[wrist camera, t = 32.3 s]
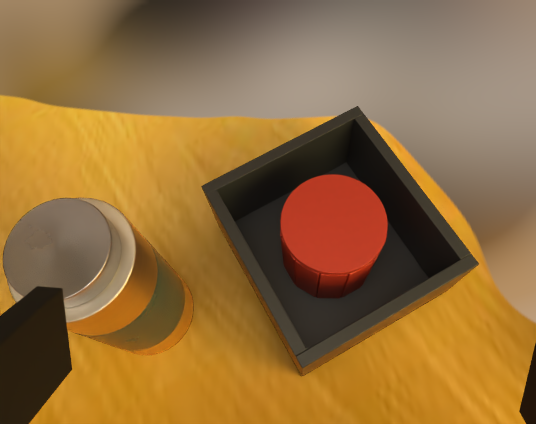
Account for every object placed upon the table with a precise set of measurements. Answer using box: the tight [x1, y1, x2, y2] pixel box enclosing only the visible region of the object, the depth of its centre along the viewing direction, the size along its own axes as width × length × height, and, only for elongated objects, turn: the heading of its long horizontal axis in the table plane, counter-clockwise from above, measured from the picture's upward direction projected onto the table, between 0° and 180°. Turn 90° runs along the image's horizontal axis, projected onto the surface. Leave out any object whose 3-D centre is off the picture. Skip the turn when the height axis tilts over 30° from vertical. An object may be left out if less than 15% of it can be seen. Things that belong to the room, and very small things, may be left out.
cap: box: [280, 174, 388, 298], centre depth 34 cm, size 7×7×7 cm
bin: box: [202, 106, 479, 376], centre depth 34 cm, size 14×13×7 cm
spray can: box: [3, 198, 193, 355], centre depth 30 cm, size 7×7×16 cm
